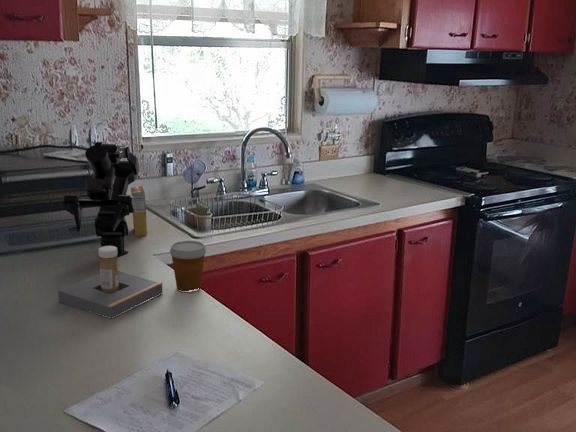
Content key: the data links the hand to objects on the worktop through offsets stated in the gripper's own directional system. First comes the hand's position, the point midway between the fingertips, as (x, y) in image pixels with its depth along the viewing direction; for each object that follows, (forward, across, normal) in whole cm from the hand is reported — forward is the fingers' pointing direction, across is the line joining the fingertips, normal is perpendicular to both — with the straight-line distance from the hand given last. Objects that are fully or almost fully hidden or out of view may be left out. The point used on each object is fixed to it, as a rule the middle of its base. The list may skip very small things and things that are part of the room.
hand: (95, 230), depth 164 cm
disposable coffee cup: (+15, +26, +5) cm, 30 cm away
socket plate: (+19, +7, 0) cm, 20 cm away
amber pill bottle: (+20, +6, 0) cm, 20 cm away
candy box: (-20, +4, +39) cm, 44 cm away
